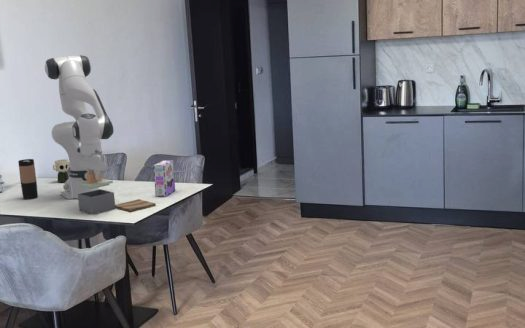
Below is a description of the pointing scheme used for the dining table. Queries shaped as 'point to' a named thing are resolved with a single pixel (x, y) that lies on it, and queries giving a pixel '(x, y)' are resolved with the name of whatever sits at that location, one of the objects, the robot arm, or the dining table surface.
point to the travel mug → (28, 179)
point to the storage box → (96, 201)
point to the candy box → (164, 178)
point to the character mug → (61, 169)
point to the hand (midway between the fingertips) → (94, 178)
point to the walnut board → (134, 205)
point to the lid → (94, 181)
